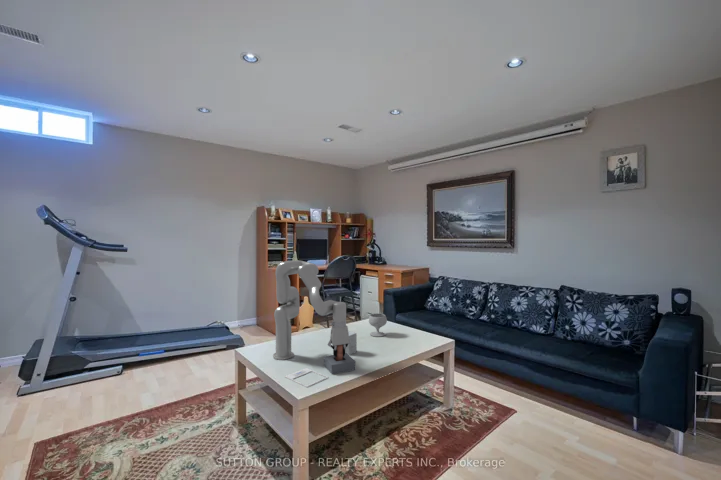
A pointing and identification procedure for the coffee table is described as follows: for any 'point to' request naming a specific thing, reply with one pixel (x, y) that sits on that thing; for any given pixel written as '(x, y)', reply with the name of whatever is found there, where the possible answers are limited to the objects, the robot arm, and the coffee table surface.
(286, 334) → the robot arm
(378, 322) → the chalice
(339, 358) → the peg
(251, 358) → the coffee table surface
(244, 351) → the coffee table surface
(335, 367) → the socket block
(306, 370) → the photo frame
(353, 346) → the supplement box
